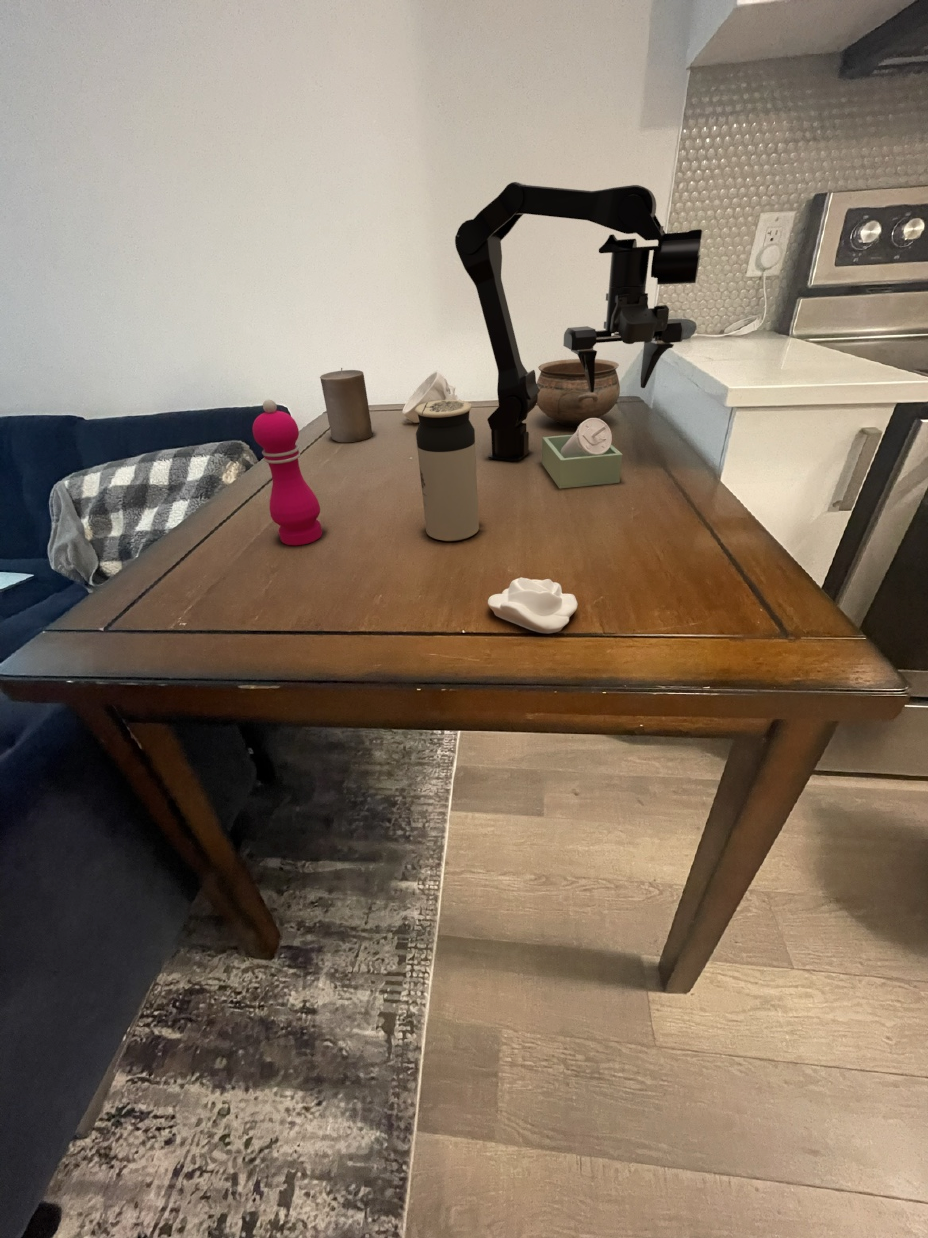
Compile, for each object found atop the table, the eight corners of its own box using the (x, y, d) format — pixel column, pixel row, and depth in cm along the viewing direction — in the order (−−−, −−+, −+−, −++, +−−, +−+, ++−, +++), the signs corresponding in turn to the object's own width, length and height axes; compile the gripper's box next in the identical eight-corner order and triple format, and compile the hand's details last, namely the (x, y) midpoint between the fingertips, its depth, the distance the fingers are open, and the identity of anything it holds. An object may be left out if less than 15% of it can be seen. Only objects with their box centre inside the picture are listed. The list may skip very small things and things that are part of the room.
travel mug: (483, 520, 84) (478, 398, 74) (473, 543, 78) (466, 413, 68) (433, 519, 86) (422, 399, 76) (420, 541, 79) (405, 414, 69)
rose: (490, 605, 56) (484, 561, 64) (491, 640, 59) (485, 593, 67) (586, 599, 56) (568, 555, 64) (583, 633, 58) (566, 587, 67)
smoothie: (553, 435, 100) (590, 405, 86) (584, 437, 102) (626, 408, 88) (554, 470, 100) (591, 445, 86) (585, 472, 102) (627, 448, 88)
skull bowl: (475, 415, 132) (445, 371, 125) (430, 451, 135) (398, 410, 128) (467, 405, 140) (439, 363, 133) (425, 439, 143) (395, 400, 137)
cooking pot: (526, 412, 137) (527, 359, 130) (601, 406, 137) (605, 353, 130) (543, 440, 116) (545, 379, 109) (631, 434, 116) (638, 373, 110)
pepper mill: (283, 551, 79) (244, 409, 68) (273, 533, 85) (236, 399, 73) (331, 539, 82) (301, 400, 71) (318, 522, 87) (289, 390, 76)
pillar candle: (378, 430, 131) (368, 362, 122) (365, 442, 123) (353, 371, 114) (340, 431, 132) (328, 364, 124) (324, 443, 125) (310, 372, 116)
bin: (541, 463, 105) (542, 437, 102) (595, 458, 105) (597, 432, 102) (559, 488, 93) (560, 459, 91) (619, 482, 94) (622, 454, 91)
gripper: (584, 293, 79) (578, 404, 88) (708, 284, 80) (689, 395, 89) (564, 289, 89) (560, 390, 97) (675, 280, 90) (661, 382, 98)
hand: (617, 389), depth 95 cm, fingers open, 9 cm apart
